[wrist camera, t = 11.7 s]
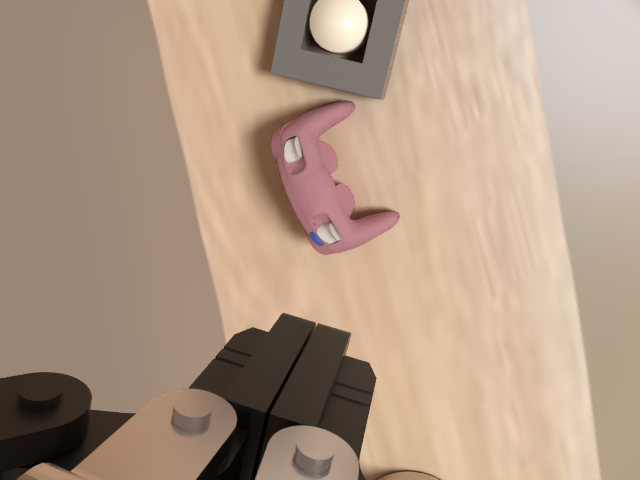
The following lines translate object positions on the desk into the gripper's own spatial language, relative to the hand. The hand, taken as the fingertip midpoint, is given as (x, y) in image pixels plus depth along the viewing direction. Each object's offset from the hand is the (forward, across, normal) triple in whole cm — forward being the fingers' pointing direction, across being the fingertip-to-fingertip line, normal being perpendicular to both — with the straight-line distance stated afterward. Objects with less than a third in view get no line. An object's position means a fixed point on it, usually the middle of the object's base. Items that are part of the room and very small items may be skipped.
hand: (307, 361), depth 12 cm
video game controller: (+29, +4, +1) cm, 30 cm away
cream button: (+28, +6, -9) cm, 30 cm away
